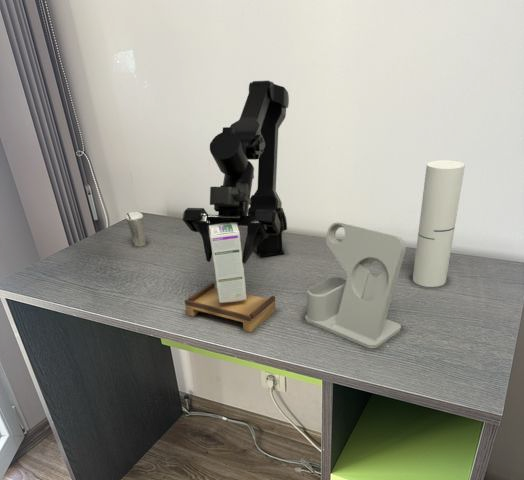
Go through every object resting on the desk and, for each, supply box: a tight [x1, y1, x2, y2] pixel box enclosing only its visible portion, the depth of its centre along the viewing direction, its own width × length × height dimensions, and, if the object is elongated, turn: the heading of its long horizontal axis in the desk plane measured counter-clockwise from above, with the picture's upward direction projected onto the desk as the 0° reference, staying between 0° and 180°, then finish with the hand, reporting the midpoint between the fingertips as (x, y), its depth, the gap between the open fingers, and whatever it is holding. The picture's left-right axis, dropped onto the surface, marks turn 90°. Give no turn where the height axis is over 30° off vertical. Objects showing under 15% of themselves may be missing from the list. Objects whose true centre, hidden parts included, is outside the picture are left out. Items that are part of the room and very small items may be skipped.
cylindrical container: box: [412, 159, 466, 288], centre depth 104 cm, size 7×7×25 cm
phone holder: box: [304, 222, 407, 349], centre depth 92 cm, size 17×10×18 cm, turn 45°
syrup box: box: [209, 222, 247, 303], centre depth 98 cm, size 6×6×14 cm
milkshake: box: [125, 211, 147, 248], centre depth 137 cm, size 4×5×10 cm
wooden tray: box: [184, 282, 277, 333], centre depth 102 cm, size 16×10×4 cm, turn 59°
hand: (225, 261), depth 96 cm, fingers closed on syrup box, 7 cm apart
